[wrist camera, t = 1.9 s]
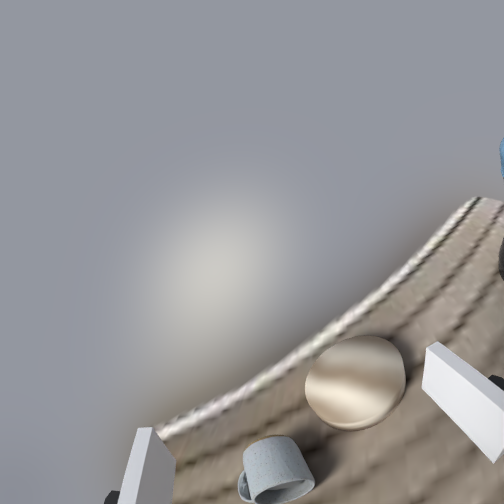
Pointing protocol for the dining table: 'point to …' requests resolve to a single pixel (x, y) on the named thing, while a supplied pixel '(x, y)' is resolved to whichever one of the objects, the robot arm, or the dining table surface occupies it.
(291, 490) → the ceramic mug
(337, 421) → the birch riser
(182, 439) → the dining table surface
